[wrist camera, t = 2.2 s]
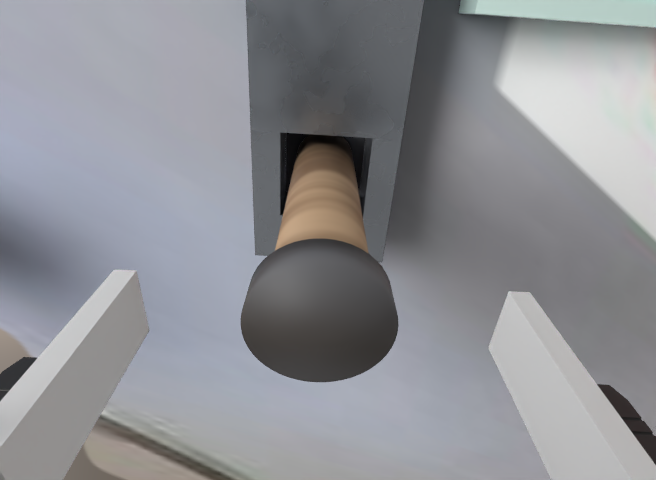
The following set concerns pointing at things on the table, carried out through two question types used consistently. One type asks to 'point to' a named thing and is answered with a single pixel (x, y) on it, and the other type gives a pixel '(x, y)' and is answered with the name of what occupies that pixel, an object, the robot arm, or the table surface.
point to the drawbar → (329, 96)
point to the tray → (569, 10)
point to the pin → (320, 277)
